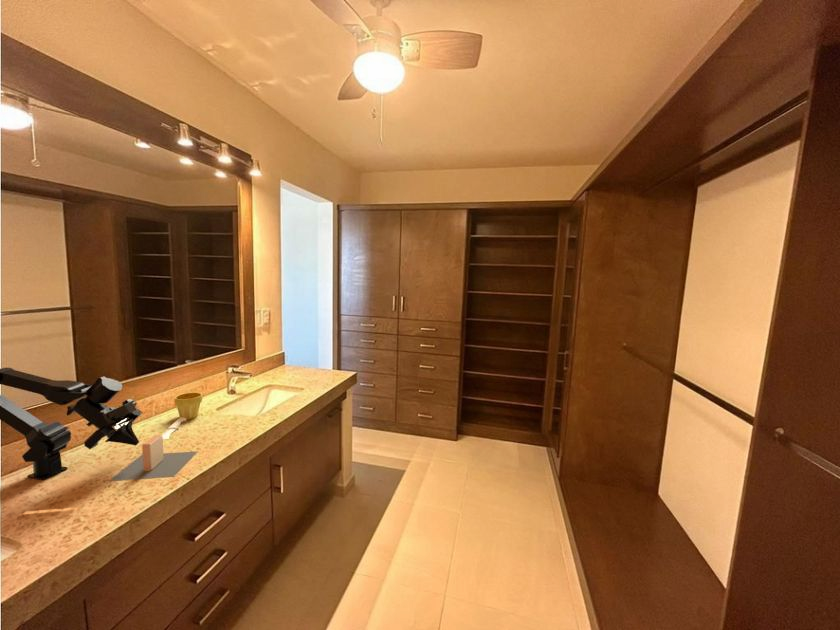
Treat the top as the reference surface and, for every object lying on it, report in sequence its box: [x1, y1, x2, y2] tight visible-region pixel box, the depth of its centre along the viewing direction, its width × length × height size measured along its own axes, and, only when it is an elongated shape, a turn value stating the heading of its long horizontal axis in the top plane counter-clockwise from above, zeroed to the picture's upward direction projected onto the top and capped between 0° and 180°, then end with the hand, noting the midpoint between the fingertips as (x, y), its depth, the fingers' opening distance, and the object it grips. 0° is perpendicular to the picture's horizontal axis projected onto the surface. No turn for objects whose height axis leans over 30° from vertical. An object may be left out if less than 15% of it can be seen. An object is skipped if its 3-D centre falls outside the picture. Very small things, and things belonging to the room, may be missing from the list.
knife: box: [162, 417, 188, 440], centre depth 136 cm, size 30×2×8 cm
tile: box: [141, 433, 164, 471], centre depth 112 cm, size 2×7×9 cm, turn 10°
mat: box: [108, 450, 199, 482], centre depth 113 cm, size 18×16×1 cm
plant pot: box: [174, 391, 203, 420], centre depth 153 cm, size 10×10×10 cm
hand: (137, 443), depth 111 cm, fingers closed
